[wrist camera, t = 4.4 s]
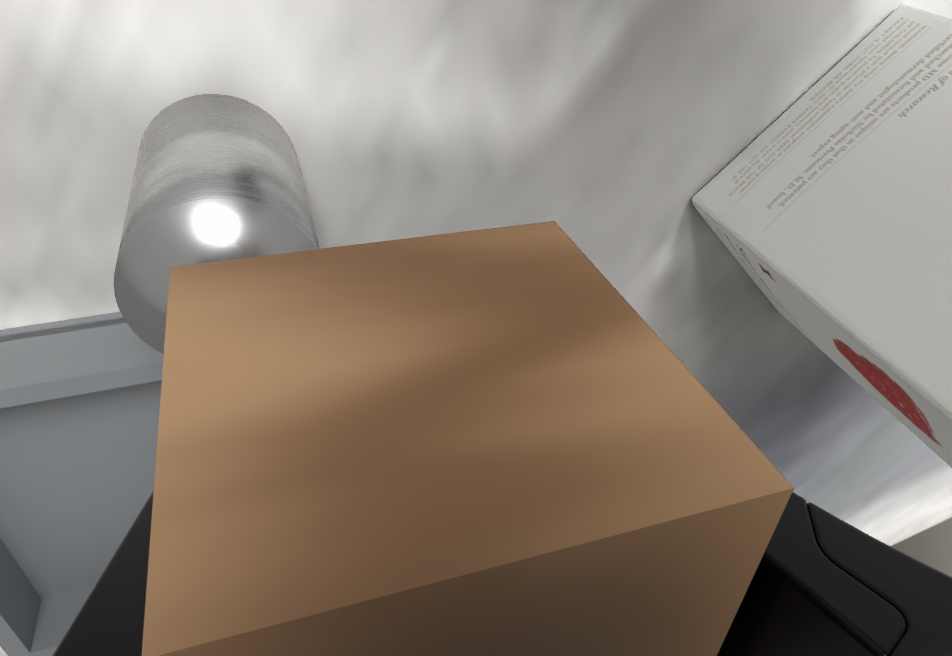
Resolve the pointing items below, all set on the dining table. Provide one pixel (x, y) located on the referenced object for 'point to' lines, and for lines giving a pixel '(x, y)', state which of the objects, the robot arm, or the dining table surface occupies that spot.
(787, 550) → the robot arm
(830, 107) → the supplement box
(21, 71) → the dining table surface
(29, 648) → the tray
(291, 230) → the steel peg
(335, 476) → the walnut block
